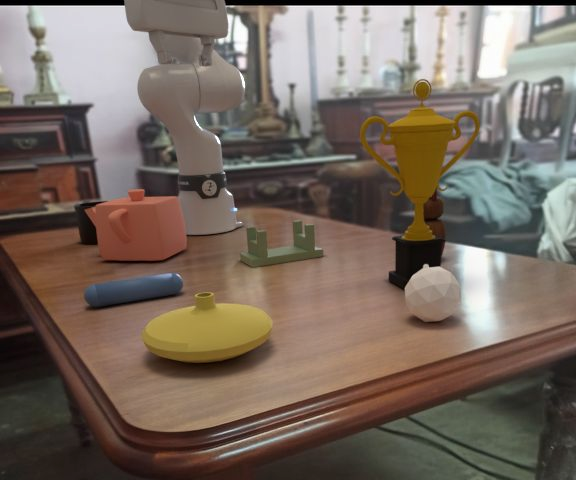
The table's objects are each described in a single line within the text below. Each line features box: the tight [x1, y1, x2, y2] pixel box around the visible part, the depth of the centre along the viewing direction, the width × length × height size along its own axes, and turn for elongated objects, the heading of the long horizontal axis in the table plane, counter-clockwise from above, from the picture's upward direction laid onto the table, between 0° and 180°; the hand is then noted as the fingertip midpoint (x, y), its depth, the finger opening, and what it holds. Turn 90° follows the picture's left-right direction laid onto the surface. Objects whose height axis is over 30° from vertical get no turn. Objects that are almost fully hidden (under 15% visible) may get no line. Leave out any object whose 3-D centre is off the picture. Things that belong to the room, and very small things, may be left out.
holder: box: [239, 219, 324, 268], centre depth 115 cm, size 7×15×6 cm, turn 114°
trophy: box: [359, 78, 481, 290], centre depth 89 cm, size 19×10×30 cm, turn 105°
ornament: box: [404, 264, 462, 323], centre depth 77 cm, size 7×7×8 cm
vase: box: [141, 291, 274, 364], centre depth 70 cm, size 16×16×7 cm
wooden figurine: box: [423, 188, 447, 257], centre depth 106 cm, size 7×6×15 cm
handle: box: [83, 272, 184, 308], centre depth 94 cm, size 16×4×4 cm, turn 114°
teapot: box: [85, 188, 188, 262], centre depth 124 cm, size 20×22×14 cm
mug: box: [74, 200, 109, 245], centre depth 145 cm, size 9×12×9 cm
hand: (186, 65), depth 99 cm, fingers open, 8 cm apart
